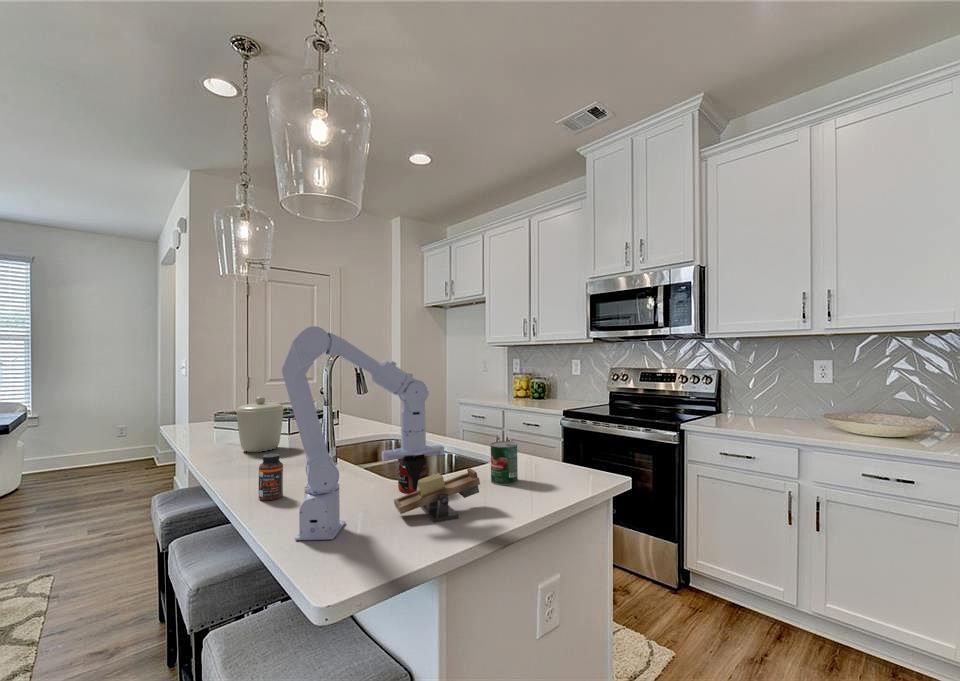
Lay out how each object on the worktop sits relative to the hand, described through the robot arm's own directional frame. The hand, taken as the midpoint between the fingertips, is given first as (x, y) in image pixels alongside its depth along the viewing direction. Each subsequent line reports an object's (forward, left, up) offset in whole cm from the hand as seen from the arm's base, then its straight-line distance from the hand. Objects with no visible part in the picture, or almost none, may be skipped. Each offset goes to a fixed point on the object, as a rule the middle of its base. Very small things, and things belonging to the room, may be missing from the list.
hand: (414, 488), depth 108 cm
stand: (+2, -5, -6) cm, 9 cm away
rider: (+2, -4, -2) cm, 5 cm away
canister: (+75, +70, -7) cm, 103 cm away
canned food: (+20, +3, -7) cm, 22 cm away
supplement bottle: (+15, +40, -7) cm, 43 cm away
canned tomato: (+26, -23, -7) cm, 36 cm away
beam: (+2, -6, -4) cm, 8 cm away
